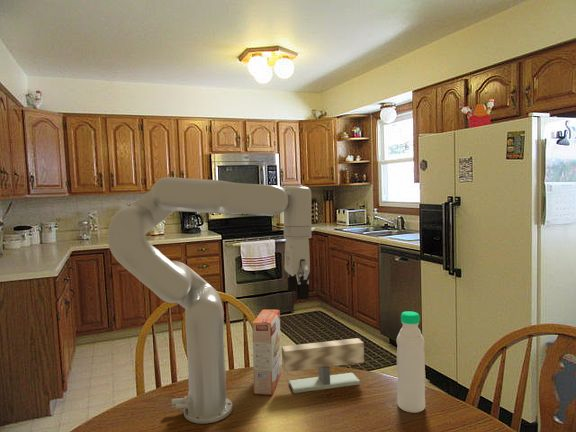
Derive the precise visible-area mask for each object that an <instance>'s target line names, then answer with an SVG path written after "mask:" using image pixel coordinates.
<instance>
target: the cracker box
mask: <svg viewBox="0 0 576 432" xmlns="http://www.w3.org/2000/svg"><path fill="white" fill-rule="evenodd" d="M251 326H252V328H251V329H252V361H253V365H252V366H253V367H252V369H253V394H254V395H265V396H266V395H267V396H273V395H274V393H275V389H276V387H277V384H278V382H279V380H280V378H281V376H282V375H281V374H282V370H281V369H282V367H281V366H282V351H281V311H280V309H261V311H260V313H259V314H258V315H257V316H256V317H255V319H254V320H253V322H252V325H251Z"/></svg>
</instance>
